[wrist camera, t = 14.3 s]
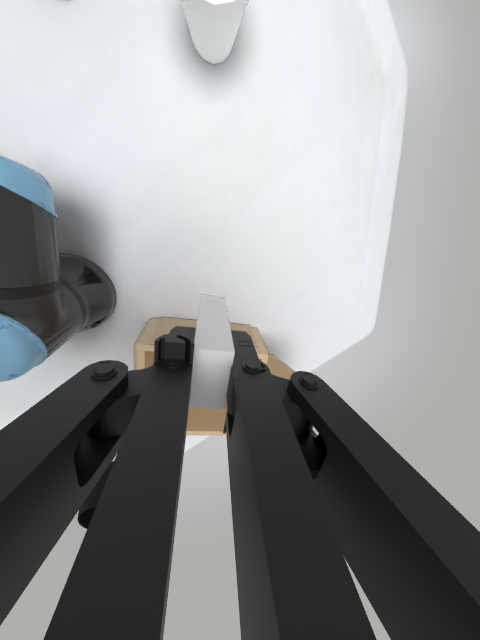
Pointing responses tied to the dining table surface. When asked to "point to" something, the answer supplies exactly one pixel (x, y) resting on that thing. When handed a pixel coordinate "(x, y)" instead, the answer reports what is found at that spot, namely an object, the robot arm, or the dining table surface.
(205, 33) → the foam cup
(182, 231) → the dining table surface
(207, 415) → the carton
